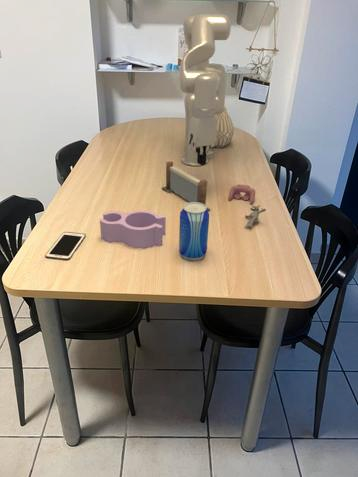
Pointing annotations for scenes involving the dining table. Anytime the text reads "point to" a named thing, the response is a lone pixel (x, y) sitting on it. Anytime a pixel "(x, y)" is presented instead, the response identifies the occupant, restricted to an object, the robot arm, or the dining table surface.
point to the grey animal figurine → (253, 216)
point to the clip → (133, 228)
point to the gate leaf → (184, 184)
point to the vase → (224, 129)
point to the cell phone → (65, 246)
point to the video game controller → (245, 189)
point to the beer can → (193, 231)
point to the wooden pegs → (201, 186)
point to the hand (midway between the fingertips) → (201, 163)
